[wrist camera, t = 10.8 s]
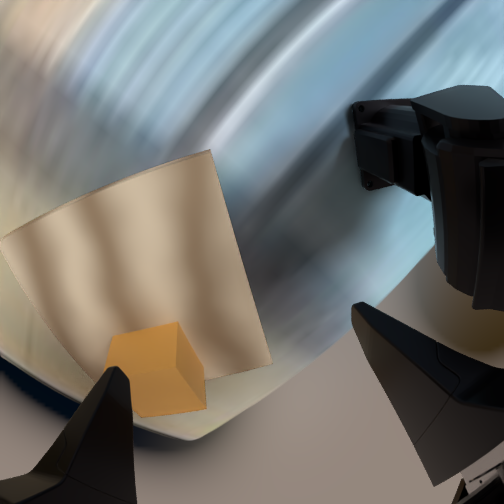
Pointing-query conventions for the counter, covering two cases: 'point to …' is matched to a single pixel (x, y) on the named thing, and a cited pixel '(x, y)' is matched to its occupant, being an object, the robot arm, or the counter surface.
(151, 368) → the amber foam cube
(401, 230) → the counter surface
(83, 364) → the birch board
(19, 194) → the counter surface
